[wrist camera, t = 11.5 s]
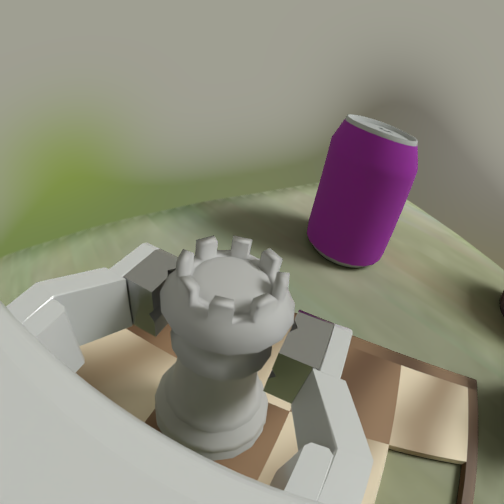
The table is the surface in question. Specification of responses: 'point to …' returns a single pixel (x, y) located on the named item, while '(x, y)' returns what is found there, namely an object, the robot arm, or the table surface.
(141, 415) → the board
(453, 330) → the table surface
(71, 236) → the table surface
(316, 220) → the beverage can
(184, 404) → the rook chess piece
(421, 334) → the table surface
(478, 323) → the table surface
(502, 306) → the cupcake
